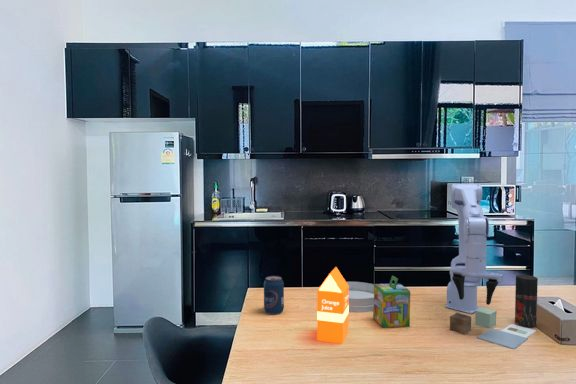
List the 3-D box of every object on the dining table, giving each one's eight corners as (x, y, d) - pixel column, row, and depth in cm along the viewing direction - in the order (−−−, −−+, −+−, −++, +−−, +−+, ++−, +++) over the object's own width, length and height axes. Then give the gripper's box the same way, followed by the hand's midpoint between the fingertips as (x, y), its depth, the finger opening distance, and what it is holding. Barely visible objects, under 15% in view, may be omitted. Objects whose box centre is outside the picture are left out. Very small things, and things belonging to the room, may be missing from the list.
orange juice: (349, 332, 124) (349, 267, 123) (343, 343, 115) (343, 274, 114) (324, 329, 126) (323, 265, 125) (316, 340, 118) (316, 272, 117)
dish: (393, 299, 155) (393, 286, 155) (372, 317, 137) (372, 302, 136) (340, 290, 167) (340, 278, 167) (314, 306, 148) (314, 292, 148)
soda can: (260, 313, 140) (260, 279, 139) (269, 307, 146) (268, 274, 146) (279, 316, 137) (278, 281, 137) (286, 309, 144) (286, 276, 143)
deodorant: (539, 328, 125) (540, 280, 125) (518, 326, 127) (519, 279, 126) (532, 321, 131) (533, 275, 131) (512, 320, 132) (513, 274, 132)
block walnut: (449, 330, 125) (449, 316, 124) (456, 326, 128) (457, 312, 127) (464, 334, 121) (464, 320, 121) (471, 331, 124) (471, 316, 124)
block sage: (475, 324, 129) (475, 310, 129) (481, 321, 132) (481, 307, 132) (489, 328, 126) (490, 314, 126) (495, 324, 129) (496, 311, 128)
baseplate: (477, 338, 119) (477, 337, 118) (491, 329, 125) (491, 328, 125) (514, 349, 111) (514, 348, 111) (527, 339, 117) (527, 338, 117)
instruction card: (499, 332, 123) (499, 331, 123) (511, 324, 129) (511, 323, 129) (525, 339, 118) (525, 338, 118) (536, 330, 123) (536, 330, 123)
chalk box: (372, 317, 135) (372, 274, 135) (399, 316, 137) (399, 272, 136) (382, 328, 126) (382, 281, 125) (410, 327, 127) (411, 280, 127)
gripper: (446, 256, 124) (446, 299, 125) (498, 262, 115) (498, 309, 116) (454, 252, 130) (453, 294, 130) (504, 258, 121) (503, 303, 121)
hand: (474, 301), depth 124 cm, fingers open, 7 cm apart
